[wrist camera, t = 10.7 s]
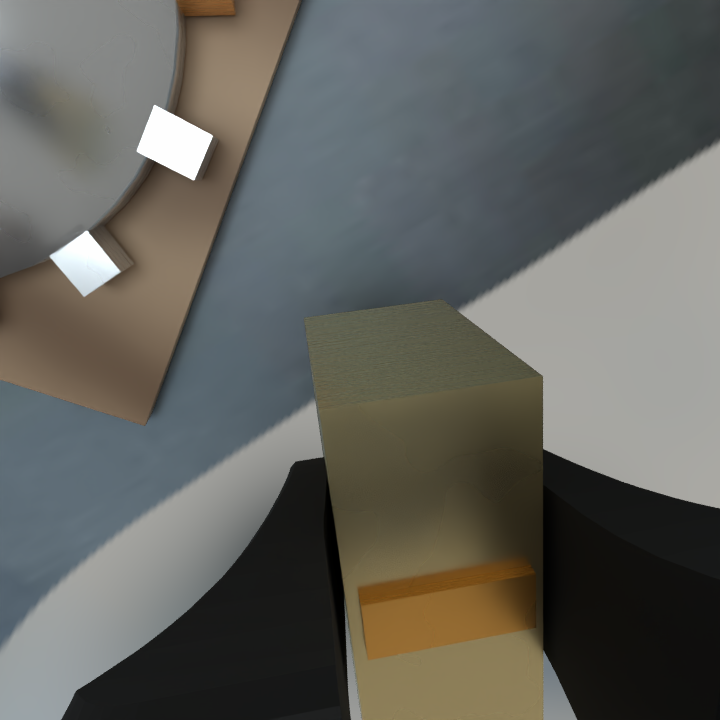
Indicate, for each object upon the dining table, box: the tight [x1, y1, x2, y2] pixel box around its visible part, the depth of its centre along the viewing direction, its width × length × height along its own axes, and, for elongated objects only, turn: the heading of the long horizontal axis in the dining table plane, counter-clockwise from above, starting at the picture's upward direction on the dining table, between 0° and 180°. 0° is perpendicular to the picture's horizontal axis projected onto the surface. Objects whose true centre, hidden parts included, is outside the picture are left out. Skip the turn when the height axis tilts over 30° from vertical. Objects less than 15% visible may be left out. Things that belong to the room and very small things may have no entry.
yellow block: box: [304, 299, 543, 720], centre depth 11 cm, size 7×3×5 cm, turn 6°
